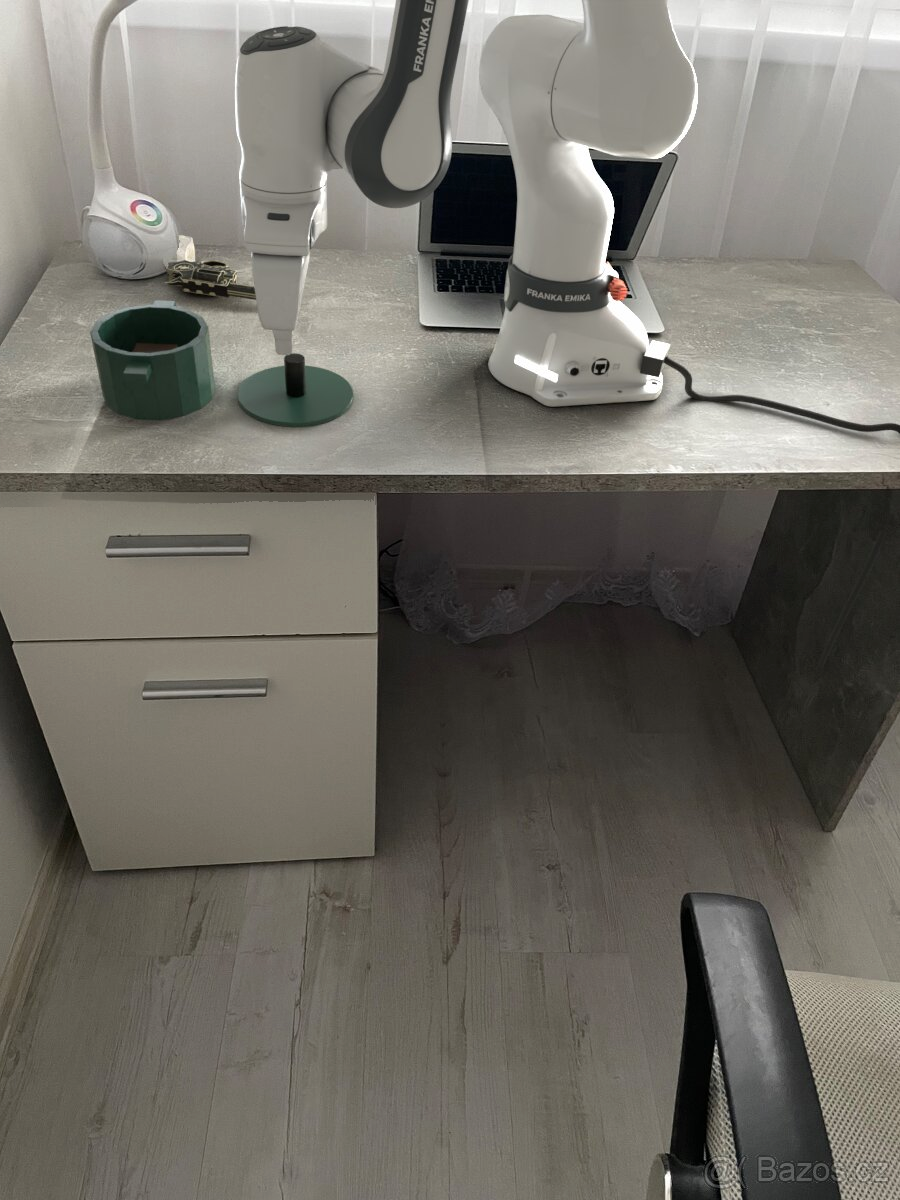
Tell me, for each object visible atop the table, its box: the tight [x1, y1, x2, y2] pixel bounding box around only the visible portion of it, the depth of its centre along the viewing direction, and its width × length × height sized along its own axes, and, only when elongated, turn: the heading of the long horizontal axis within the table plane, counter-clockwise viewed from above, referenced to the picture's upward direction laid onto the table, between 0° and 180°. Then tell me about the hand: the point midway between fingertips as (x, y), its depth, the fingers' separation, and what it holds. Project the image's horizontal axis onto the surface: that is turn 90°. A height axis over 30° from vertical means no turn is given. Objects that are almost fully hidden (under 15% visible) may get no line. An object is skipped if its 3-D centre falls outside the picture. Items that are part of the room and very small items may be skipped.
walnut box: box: [133, 343, 178, 353], centre depth 110 cm, size 5×5×5 cm
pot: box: [89, 299, 216, 421], centre depth 109 cm, size 13×18×8 cm
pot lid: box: [237, 352, 354, 428], centre depth 112 cm, size 14×14×6 cm
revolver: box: [164, 234, 256, 301], centre depth 135 cm, size 4×21×12 cm
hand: (288, 333), depth 107 cm, fingers open, 8 cm apart
